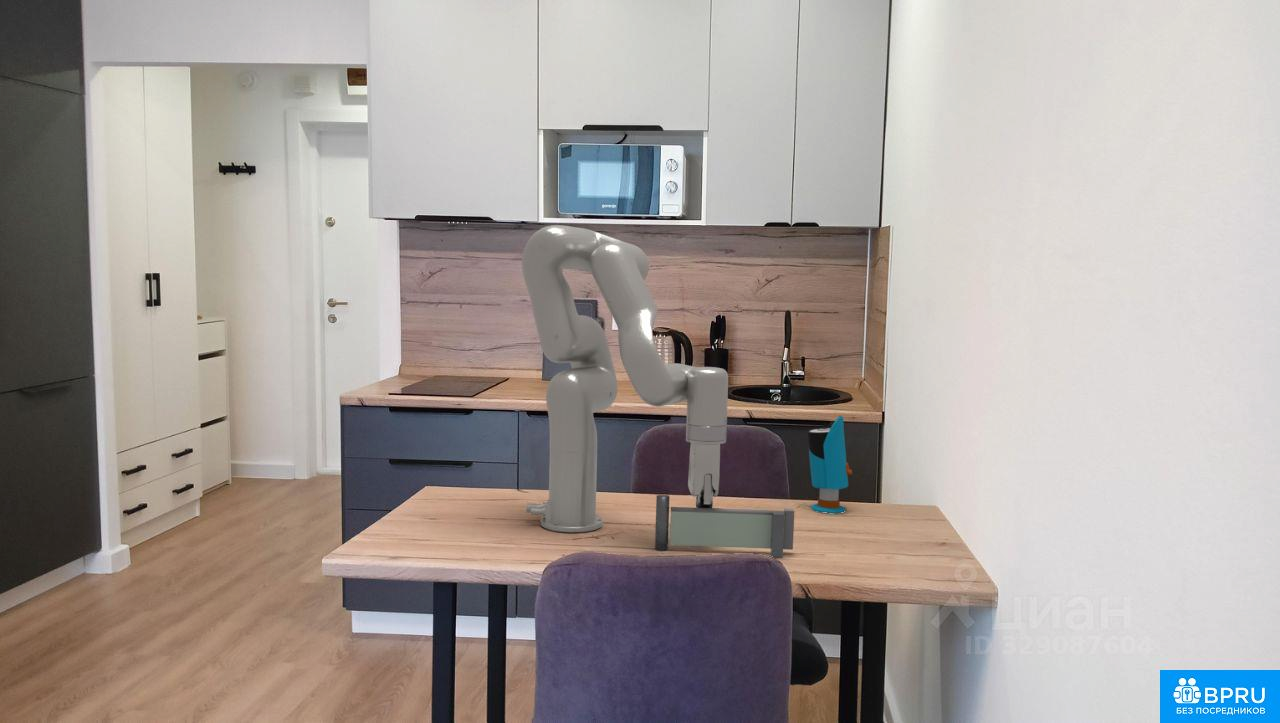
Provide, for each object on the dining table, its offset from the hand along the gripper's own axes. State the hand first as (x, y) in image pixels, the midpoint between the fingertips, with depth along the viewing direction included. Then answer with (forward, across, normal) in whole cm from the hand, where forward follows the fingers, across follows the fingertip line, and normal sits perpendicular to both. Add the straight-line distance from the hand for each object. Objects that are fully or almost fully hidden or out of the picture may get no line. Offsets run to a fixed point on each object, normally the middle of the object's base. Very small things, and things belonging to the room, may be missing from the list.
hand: (703, 529), depth 174 cm
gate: (+2, +4, +5) cm, 6 cm away
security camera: (+3, -30, +31) cm, 43 cm away
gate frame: (+3, +4, +2) cm, 6 cm away
